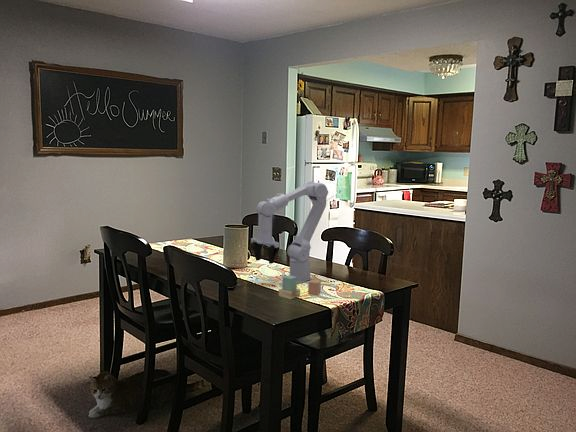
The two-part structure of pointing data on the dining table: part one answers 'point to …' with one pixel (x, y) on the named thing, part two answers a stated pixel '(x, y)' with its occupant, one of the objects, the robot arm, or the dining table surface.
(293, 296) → the maple block
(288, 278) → the teal block
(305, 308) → the dining table surface
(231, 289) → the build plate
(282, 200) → the robot arm
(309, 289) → the terracotta block
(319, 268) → the dining table surface
